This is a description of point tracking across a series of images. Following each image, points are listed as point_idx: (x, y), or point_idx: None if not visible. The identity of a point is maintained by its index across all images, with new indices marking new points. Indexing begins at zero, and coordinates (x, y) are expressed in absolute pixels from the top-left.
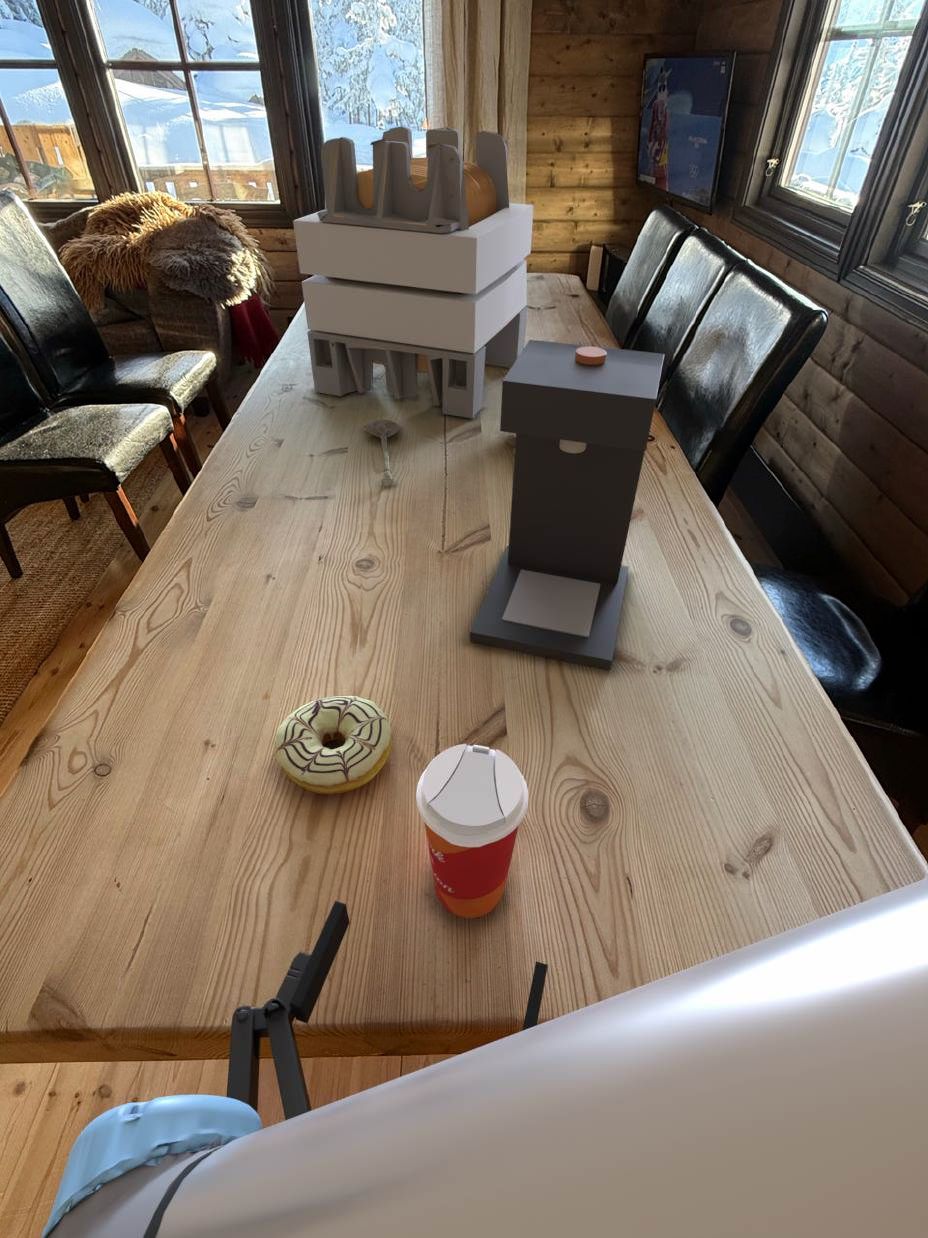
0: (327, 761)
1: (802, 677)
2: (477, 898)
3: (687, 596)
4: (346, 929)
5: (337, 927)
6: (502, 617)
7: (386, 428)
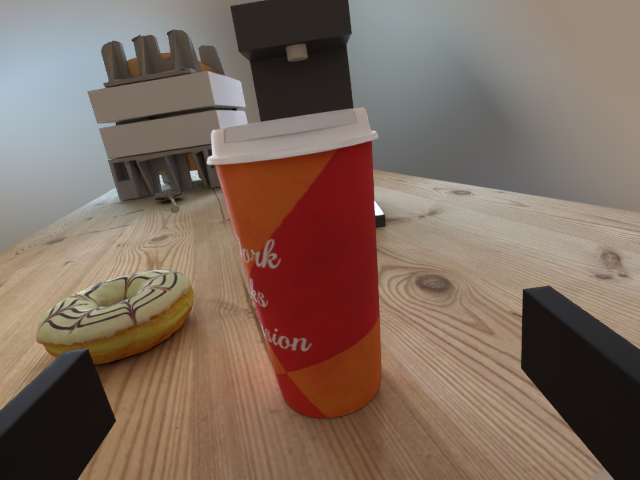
0: (106, 310)
1: (526, 195)
2: (351, 347)
3: (415, 193)
4: (106, 432)
5: (62, 392)
6: None
7: (171, 192)
